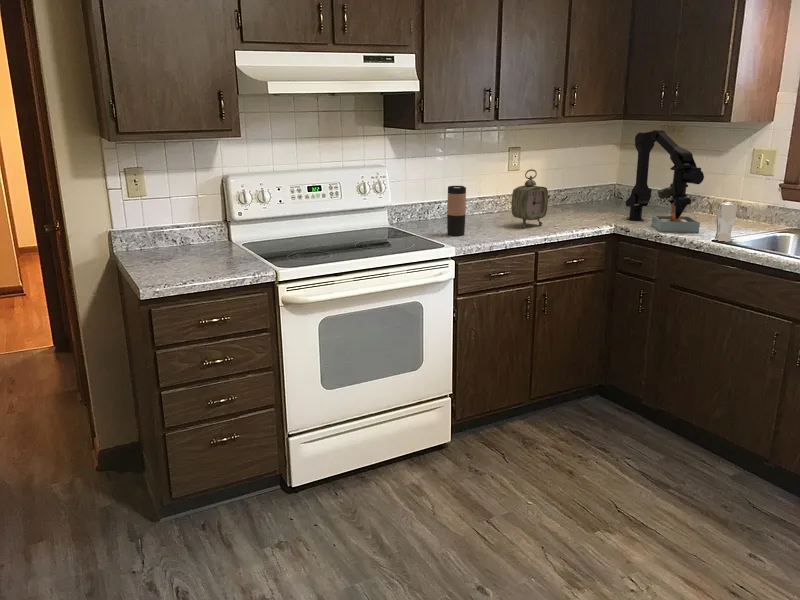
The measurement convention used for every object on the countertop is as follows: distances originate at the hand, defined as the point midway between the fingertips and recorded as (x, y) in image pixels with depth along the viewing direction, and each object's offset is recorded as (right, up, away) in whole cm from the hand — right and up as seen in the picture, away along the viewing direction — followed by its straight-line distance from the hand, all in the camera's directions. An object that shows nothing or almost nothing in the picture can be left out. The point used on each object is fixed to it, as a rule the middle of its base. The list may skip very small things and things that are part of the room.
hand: (675, 217), depth 296 cm
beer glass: (+10, -12, -21) cm, 27 cm away
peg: (0, -2, +1) cm, 2 cm away
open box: (0, -5, +1) cm, 5 cm away
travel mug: (-96, -8, -9) cm, 97 cm away
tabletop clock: (-63, -3, +9) cm, 63 cm away
